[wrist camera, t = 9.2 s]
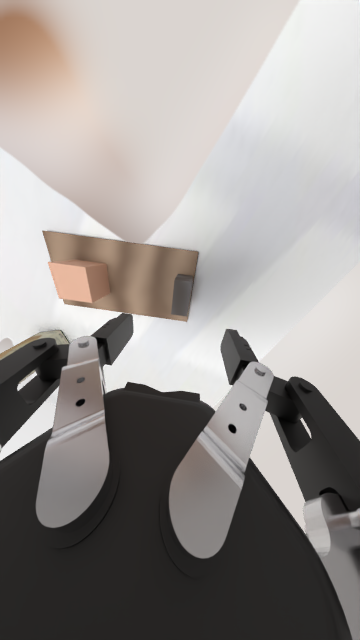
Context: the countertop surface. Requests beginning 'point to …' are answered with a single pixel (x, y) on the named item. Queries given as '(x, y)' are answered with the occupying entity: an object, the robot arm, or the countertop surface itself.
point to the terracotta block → (80, 280)
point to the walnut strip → (133, 274)
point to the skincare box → (49, 334)
